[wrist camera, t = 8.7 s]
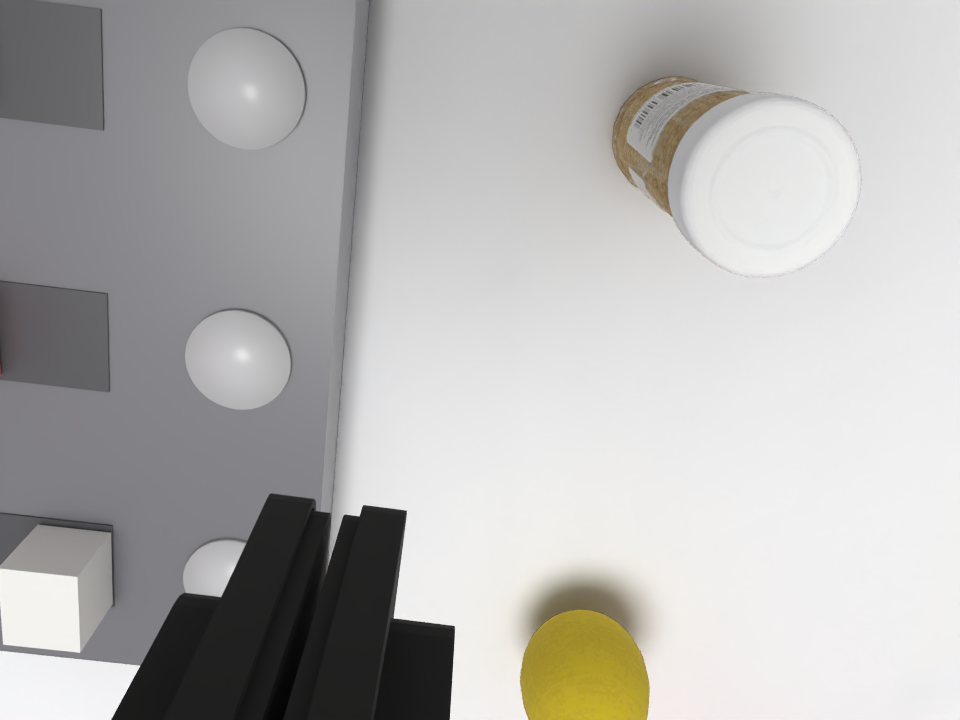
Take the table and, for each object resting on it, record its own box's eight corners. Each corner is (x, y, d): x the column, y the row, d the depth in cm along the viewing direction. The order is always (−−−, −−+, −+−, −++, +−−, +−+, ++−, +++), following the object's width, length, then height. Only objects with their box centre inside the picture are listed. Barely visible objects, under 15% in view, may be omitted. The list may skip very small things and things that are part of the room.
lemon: (511, 666, 43) (515, 799, 36) (526, 570, 41) (534, 688, 34) (623, 678, 44) (651, 812, 36) (643, 582, 42) (677, 703, 34)
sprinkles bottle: (628, 209, 36) (705, 304, 23) (597, 96, 34) (660, 132, 22) (740, 172, 35) (882, 250, 22) (713, 57, 34) (849, 70, 21)
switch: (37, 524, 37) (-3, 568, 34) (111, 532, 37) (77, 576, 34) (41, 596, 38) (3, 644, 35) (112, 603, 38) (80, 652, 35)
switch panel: (-71, -105, 32) (-141, -122, 28) (373, -46, 32) (358, -56, 29) (-14, 597, 42) (-61, 649, 39) (322, 633, 43) (307, 688, 39)
